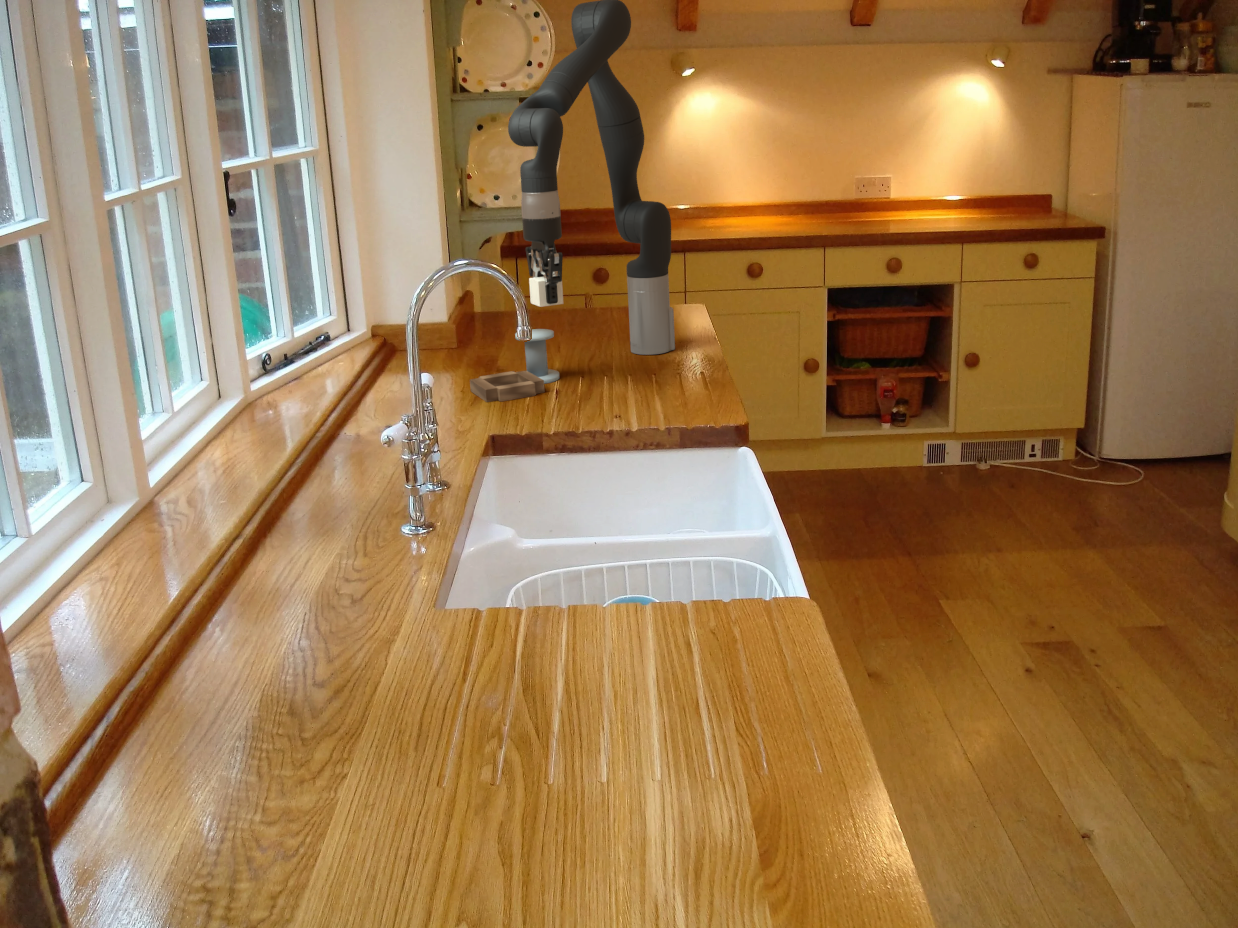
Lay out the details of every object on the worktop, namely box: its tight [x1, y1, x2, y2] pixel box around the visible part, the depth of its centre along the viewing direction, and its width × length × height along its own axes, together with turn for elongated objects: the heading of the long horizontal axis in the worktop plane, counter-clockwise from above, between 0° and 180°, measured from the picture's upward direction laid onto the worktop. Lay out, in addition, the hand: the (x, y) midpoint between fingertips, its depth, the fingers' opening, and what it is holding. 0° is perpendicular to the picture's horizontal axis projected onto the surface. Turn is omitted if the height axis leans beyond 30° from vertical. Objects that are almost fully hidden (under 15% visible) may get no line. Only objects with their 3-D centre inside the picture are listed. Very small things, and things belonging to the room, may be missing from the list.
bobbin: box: [514, 328, 560, 385], centre depth 253 cm, size 9×9×10 cm
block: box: [528, 277, 564, 308], centre depth 242 cm, size 5×5×5 cm
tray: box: [469, 370, 545, 403], centre depth 246 cm, size 12×12×2 cm
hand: (546, 301), depth 242 cm, fingers closed on block, 5 cm apart
